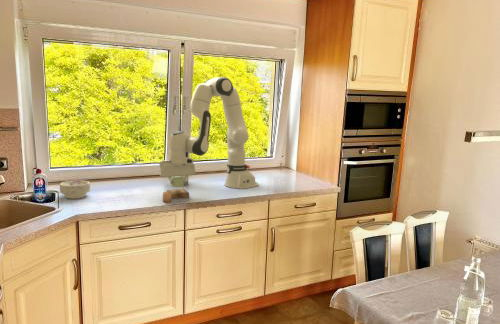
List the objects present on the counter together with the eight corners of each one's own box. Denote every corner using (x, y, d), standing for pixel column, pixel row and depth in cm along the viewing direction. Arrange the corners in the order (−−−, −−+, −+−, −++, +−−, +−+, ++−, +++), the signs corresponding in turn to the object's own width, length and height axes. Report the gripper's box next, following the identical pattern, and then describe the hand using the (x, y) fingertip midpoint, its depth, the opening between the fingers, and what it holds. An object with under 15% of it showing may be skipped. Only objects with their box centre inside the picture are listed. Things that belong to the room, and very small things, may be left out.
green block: (183, 186, 218) (183, 178, 217) (174, 187, 215) (174, 178, 214) (180, 184, 222) (180, 176, 221) (171, 185, 220) (171, 176, 219)
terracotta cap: (169, 200, 211) (169, 191, 210) (172, 202, 207) (172, 193, 206) (161, 200, 209) (161, 192, 208) (164, 203, 205) (164, 194, 204)
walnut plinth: (183, 192, 226) (183, 188, 226) (189, 197, 218) (189, 192, 217) (167, 194, 222) (167, 189, 221) (172, 198, 213) (172, 194, 213)
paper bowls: (82, 191, 220) (81, 178, 219) (95, 196, 211) (95, 183, 209) (55, 196, 209) (54, 182, 207) (68, 202, 199) (67, 187, 198)
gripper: (161, 161, 208) (161, 185, 211) (196, 160, 218) (195, 183, 220) (158, 159, 214) (158, 183, 216) (192, 158, 223) (192, 180, 226)
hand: (177, 183), depth 218 cm, fingers closed on green block, 5 cm apart
